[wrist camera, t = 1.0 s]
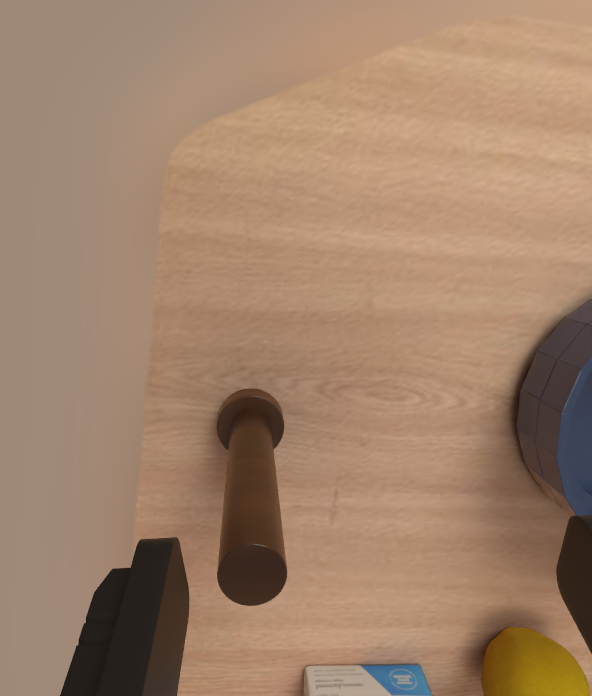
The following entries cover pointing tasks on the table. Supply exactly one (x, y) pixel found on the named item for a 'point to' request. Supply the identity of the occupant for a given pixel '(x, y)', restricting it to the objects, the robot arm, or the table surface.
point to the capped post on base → (251, 499)
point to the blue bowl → (561, 414)
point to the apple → (530, 667)
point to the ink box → (365, 680)
